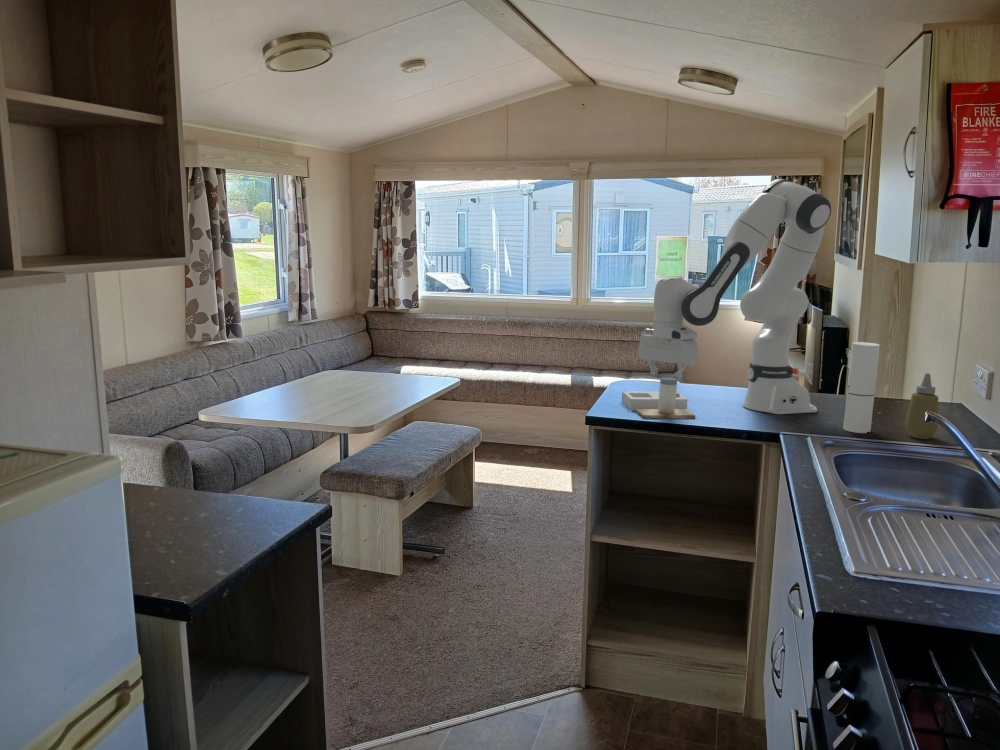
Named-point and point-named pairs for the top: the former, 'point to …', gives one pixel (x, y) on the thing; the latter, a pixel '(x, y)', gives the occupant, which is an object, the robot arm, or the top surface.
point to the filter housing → (648, 400)
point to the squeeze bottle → (922, 410)
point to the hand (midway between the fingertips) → (666, 376)
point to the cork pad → (655, 414)
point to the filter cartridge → (667, 395)
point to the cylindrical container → (861, 387)
